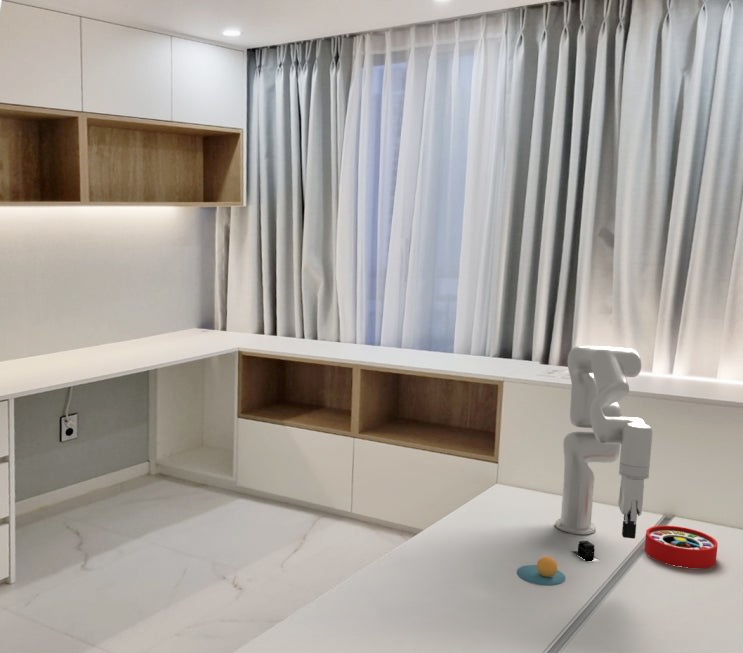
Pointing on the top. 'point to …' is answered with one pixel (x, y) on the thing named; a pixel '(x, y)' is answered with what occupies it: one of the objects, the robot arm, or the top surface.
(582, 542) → the black boxy piece
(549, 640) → the top surface
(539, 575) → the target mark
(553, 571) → the ball
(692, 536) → the toy clock
